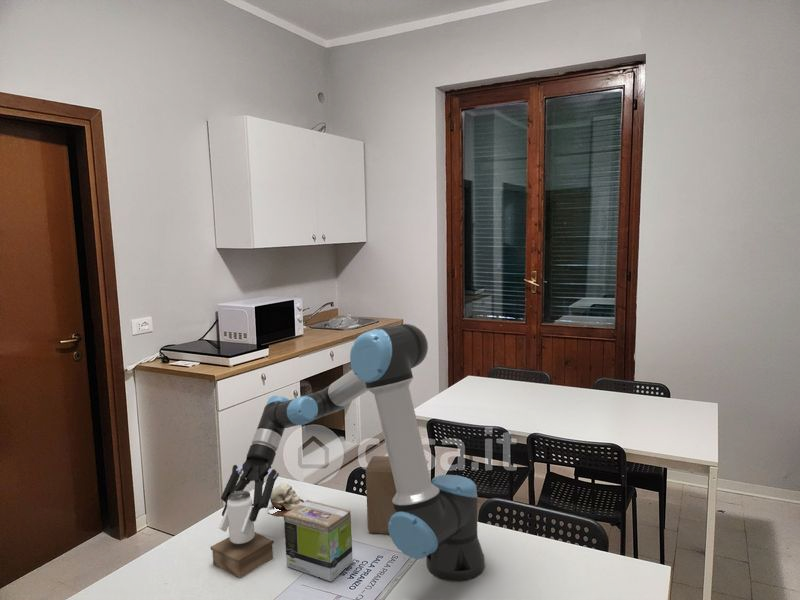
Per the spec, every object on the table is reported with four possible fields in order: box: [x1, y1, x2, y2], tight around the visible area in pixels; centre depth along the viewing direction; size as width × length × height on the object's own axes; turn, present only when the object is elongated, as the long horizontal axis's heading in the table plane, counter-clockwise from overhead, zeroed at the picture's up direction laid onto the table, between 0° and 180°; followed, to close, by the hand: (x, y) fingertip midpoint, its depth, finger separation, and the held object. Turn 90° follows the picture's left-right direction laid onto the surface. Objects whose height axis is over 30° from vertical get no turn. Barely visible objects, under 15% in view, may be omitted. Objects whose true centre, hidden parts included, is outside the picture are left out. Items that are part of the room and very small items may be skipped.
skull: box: [269, 483, 306, 516], centre depth 182 cm, size 12×10×10 cm
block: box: [365, 455, 397, 535], centre depth 168 cm, size 10×10×20 cm
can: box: [227, 490, 255, 544], centre depth 151 cm, size 6×6×12 cm
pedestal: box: [210, 531, 275, 579], centre depth 152 cm, size 12×12×5 cm
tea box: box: [283, 499, 353, 582], centre depth 149 cm, size 15×10×15 cm
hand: (233, 531), depth 148 cm, fingers closed on can, 6 cm apart
